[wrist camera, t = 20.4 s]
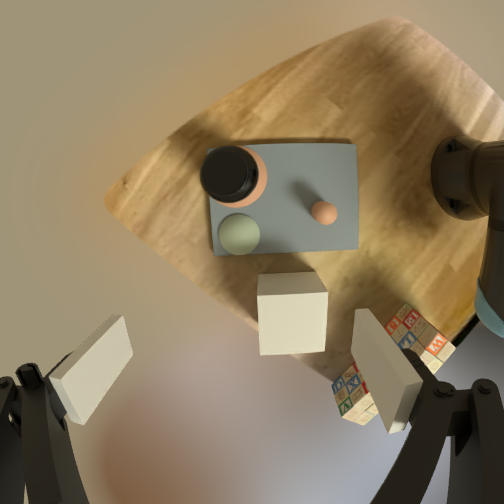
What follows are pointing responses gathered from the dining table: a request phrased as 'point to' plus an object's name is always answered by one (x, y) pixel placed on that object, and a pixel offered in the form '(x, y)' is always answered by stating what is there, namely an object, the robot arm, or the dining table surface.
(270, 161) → the board
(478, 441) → the robot arm
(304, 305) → the plain off-white box
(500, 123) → the dining table surface
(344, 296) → the dining table surface
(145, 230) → the dining table surface
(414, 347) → the stack of blocks
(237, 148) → the supplement bottle
